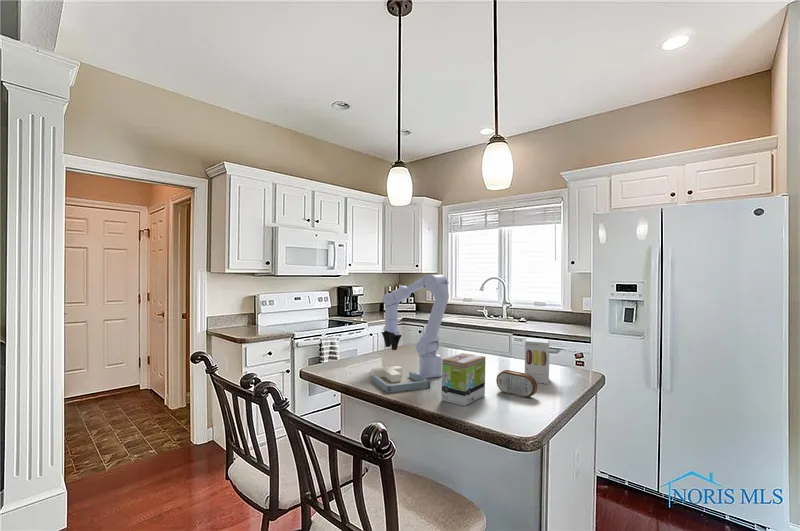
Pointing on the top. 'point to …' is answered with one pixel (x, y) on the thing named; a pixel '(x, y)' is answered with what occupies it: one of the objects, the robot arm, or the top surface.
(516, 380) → the tin
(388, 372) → the t block
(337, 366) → the top surface
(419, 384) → the shallow grey tray
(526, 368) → the supplement box
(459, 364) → the tea box
